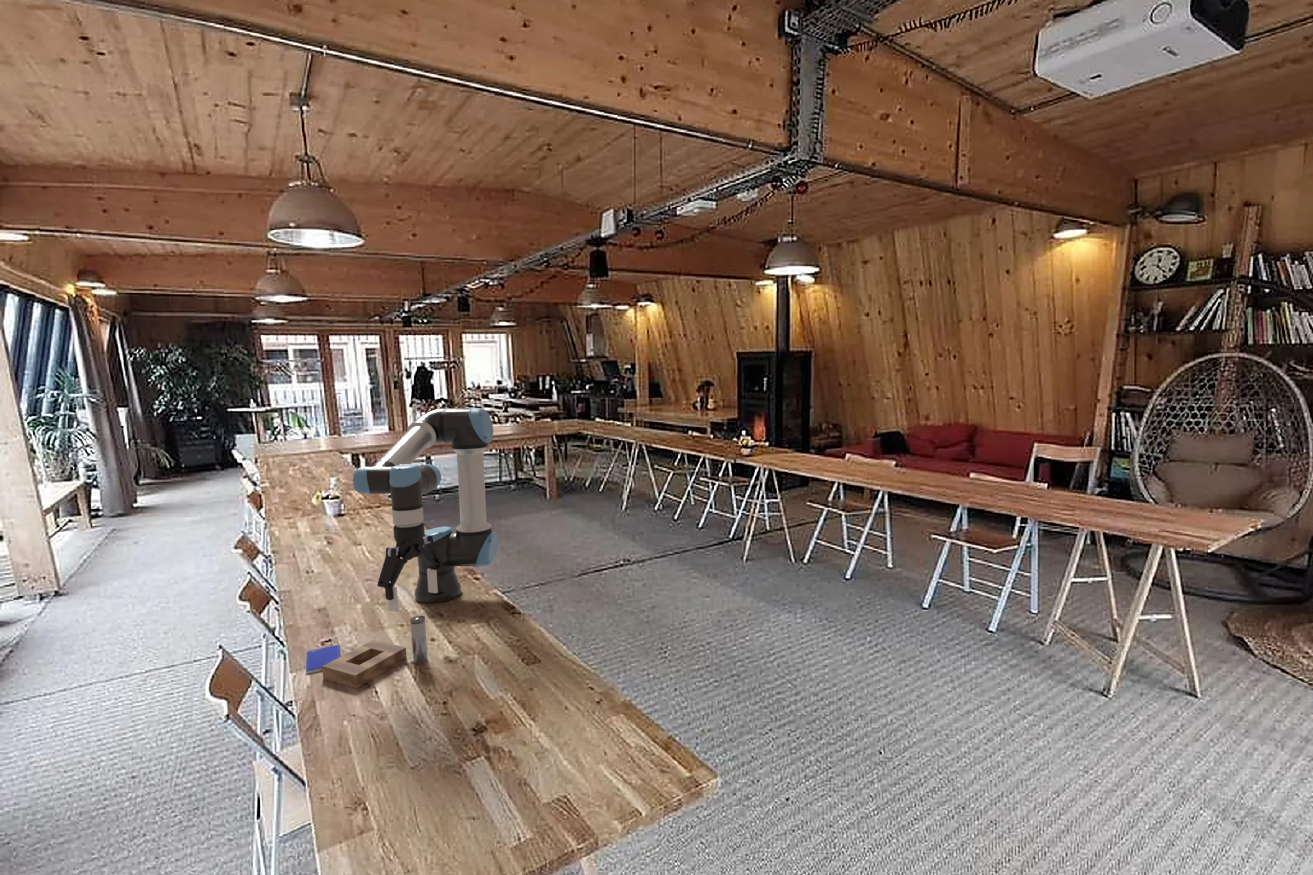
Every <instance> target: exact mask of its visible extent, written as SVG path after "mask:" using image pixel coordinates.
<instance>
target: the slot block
mask: <svg viewBox="0 0 1313 875" xmlns="http://www.w3.org/2000/svg"><path fill="white" fill-rule="evenodd" d="M340 656H341V655H340ZM407 659H408V658H407V648H406V646H401V645H397V644H393V643H389V642H385V641H380V640H377V639H372V640H371V641H369V642H367V643H365V644H363V645H361V646H359V647H357V648H355V649H353V650H350V651H349V652H347V653H345V654H343V655H342V656H341V657H339V658H337V659H335V660H333V661H331V662H329V663H327V664H325V665H323V666H322V670H323V671H322V679H323V680H326V681H328V682H332V683H336V684H339V685H343V686H346V687H350V688H354V689H359V688H360V687H361V686H364V685H365V684H367V683H369V682H370V681H372V680H374V679H376V678H377V677H379V676H381V675H382V674H385V673H386V672H388V671H389V670H391V669H393V668H394V667H396V666H398V665H400V664H402V663H403V662H404V661H406V660H407Z"/></svg>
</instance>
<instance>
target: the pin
mask: <svg viewBox="0 0 1313 875" xmlns="http://www.w3.org/2000/svg"><path fill="white" fill-rule="evenodd" d="M409 621H410V622H409V623H410V632H411V645H412V659H413V664H416V665H420V664H425V663H427V661H428V657H429V656H428V643H427V629H426V616H425V615H415V616H412V617H410V619H409Z"/></svg>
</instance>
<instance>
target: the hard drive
mask: <svg viewBox="0 0 1313 875" xmlns="http://www.w3.org/2000/svg"><path fill="white" fill-rule="evenodd" d="M339 657H341V645H340V644H336V645H329V646H324V647H322V648H316V649H315V648H314V649H312V650H308V651H306V663H305V675H308V674H313V673H317V672H321V671H322V672H323V670H322V666H323V665H325V664H327V663H329V662H331V661H333V660H335V659H337V658H339Z"/></svg>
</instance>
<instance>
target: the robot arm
mask: <svg viewBox="0 0 1313 875" xmlns="http://www.w3.org/2000/svg"><path fill="white" fill-rule="evenodd" d="M493 438H494V425H493V422H492V418H491V416H490V414H489V412H488V411H487V410H486V409H485V408H480V407H479V408H478V407H457V408H456V407H455V408H454V407H453V408H449V407H448V408H447V407H445V408H438V409H437V408H436V409H434V410H431V411H428V412H427V413H425V414H422V415H421V416H420V417H417V418H416V419H415V420H413V422H411V423H410V424H409V425H408V426H407V428H406V433H405V434H404V435H402V437H401V438H400V439H399V440H397V442H395V443H394V445H392V446H391V447H390V448H389V449H388V450H387V451H386V452H385V453H384V454H383V455H382V456H381V457H380V458H378V459H377V461H376V462H375V463H374V464H373V465H372V466H362V467H358V468H356V469H355V471H354V474H353V476H352V485H353V488H354V490H355V491H356V492H357V493H358V494H361V495H370V496H371V495H390V498H391V512H392V524H393V525H394V526H393V529H392V530H393V539H394V540H395V543H396V544H395V547H394V546H393V547H386V548H385V557H384V561H383V564H382V568H381V571H380V574H379V577H378V581H377V584H376V585H377V587H379V588H383V589H384V592H385V593H384V594H385V599H386V600H387V606H388V611H389V612H395V613H397V612H399V599H398V597H399V596H398V586H397V585H396V582H397V581H398V578H399V576H400V575H401V573H402V570H403V568H404V566H405V565H406V564H407V563H408V561H410V560H412V559H414V558H417V566H418V578H417V582H416V587H415V590H414V600H415V601H416V602H419V603H424V604H436V603H442V602H446V601H447V602H448V601H450V600H453V599H455V598H457V597H458V595H459V596H460V595H461V594H462V585H461V582H460V581H459V579H458V575H457V574H456V571H455V567H477V568H479V567H488V566H490V565H491V564H492V563H493V562H494V560H495V558H496V556H497V551H498V547H499V546H498V545H499V537H498V533H497V532H496V531H492V530H493V529H492V524H490V523H489V522H488V520H487V504H486V480H485V479H486V478H485V460H484V452H486V450H487V449H488V444H489V443H491V442H492V441H493ZM435 444H451V450H452V451H453V452H455V453H456V462H457V481H458V482H457V483H458V484H457V485H458V501H459V502H458V503H459V519H460V520H459V521H460V524H459V525H458V526H456V527H455V531H453V528H452V527H451V526H439V527H438V526H437V527H434V528H429V529H426V530H425V524H424V522H423V521H425V519H424V506H423V495H426V494H427V493H430V492H433V491H434V490H435V489H436V488H438V486H439V485H440V484H441V482H442V481H441V480H442V473H441V471H440V469H439V468H438V467H437V466H435V465H433V464H429V463H427V464H420V465H418V464H414V463H415V462H414V461H416V459H417V458H419V456H420V455H421V454H422V453H423V452H424V451H425V450H426V449H429V448H431V447H433V446H434V445H435ZM395 585H396V586H395Z"/></svg>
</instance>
